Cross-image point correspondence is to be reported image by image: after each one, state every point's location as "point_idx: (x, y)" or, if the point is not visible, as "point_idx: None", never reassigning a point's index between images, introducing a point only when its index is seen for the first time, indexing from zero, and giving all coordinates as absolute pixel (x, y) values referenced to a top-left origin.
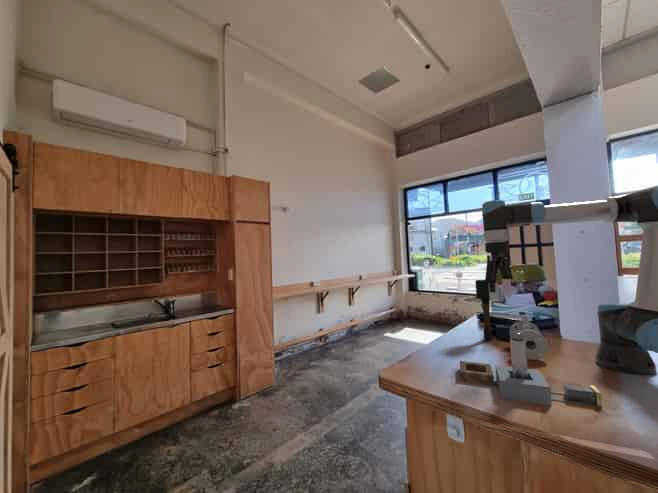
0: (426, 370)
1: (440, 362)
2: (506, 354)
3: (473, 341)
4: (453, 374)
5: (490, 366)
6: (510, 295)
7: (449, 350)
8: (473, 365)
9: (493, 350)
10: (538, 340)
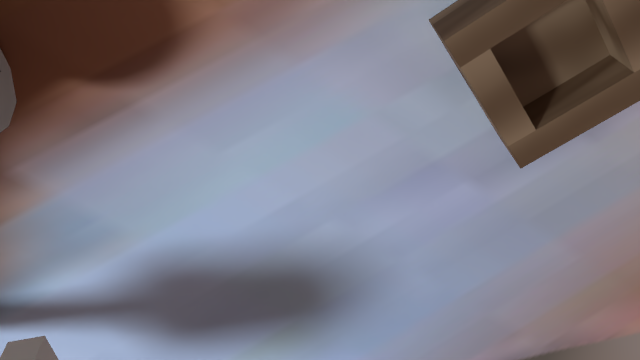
0: (603, 232)
1: (461, 256)
2: (36, 138)
3: None
4: None
5: (480, 21)
6: (45, 354)
7: (270, 327)
8: (515, 95)
9: (47, 213)
10: None
